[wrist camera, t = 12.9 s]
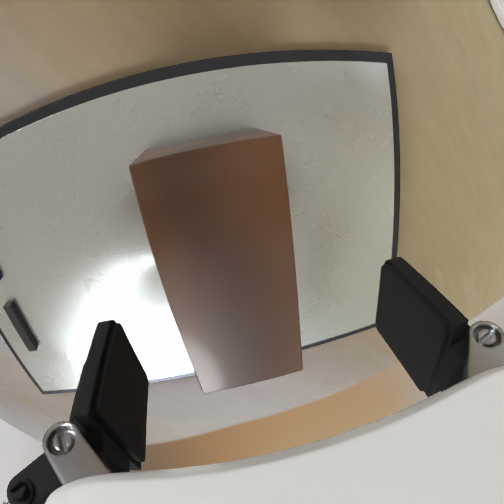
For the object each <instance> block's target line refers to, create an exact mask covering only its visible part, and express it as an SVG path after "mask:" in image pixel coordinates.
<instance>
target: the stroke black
mask: <svg viewBox="0 0 504 504" xmlns="http://www.w3.org/2000/svg"><path fill="white" fill-rule="evenodd" d="M3 308H4V310H5V312H6V314H7V316H8V317H9V319H10V321H11V323H12V324H13V326H14V328H15V329H16V331H17V333H18V334H19V336H20V338H21V339H22V341H23V343H24V344H25V346H26V347H27V349H28V350H29V351H36V350H37V349H38V345H37V343H36V342H35V340H34V338H33V337H32V335H31V333H30V332H29V330H28V328H27V327H26V325H25V323H24V321H23V320H22V318H21V316H20V314H19V312H18V310H17V309H16V307H15V305H14V303H13V302H8V303H5V304H4V306H3Z"/></svg>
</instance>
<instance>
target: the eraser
mask: <svg viewBox="0 0 504 504" xmlns="http://www.w3.org/2000/svg"><path fill="white" fill-rule="evenodd" d="M129 170H130V174H131V178H132V182H133V186H134V190H135V194H136V198H137V202H138V205H139V209H140V213H141V216H142V220H143V224H144V227H145V231H146V234H147V237H148V241H149V244H150V247H151V251H152V254H153V257H154V260H155V264H156V267H157V270H158V273H159V276H160V279H161V282H162V285H163V288H164V291H165V294H166V297H167V300H168V303H169V306H170V309H171V311H172V314H173V317H174V320H175V323H176V325H177V328H178V331H179V333H180V336H181V339H182V341H183V344H184V347H185V349H186V352H187V354H188V357H189V359H190V362H191V364H192V367H193V369H194V372H195V374H196V377H197V379H198V382H199V384H200V386H201V389H202V391H203V393H210V392H215V391H220V390H225V389H229V388H234V387H238V386H243V385H247V384H251V383H255V382H259V381H263V380H267V379H271V378H275V377H279V376H283V375H286V374H290V373H294V372H297V371H301V370H302V369H303V366H302V349H301V333H300V318H299V304H298V291H297V279H296V267H295V256H294V245H293V234H292V224H291V214H290V205H289V195H288V186H287V177H286V169H285V160H284V152H283V144H282V136H281V135H279V134H276V133H272V132H268V131H265V130H261V129H257V128H253V127H251V128H244V129H238V130H232V131H227V132H221V133H216V134H210V135H205V136H200V137H195V138H191V139H186V140H181V141H177V142H172V143H168V144H164V145H160V146H155V147H151V148H147V149H146V150H145V151H144V152H143V153H142V154H141V155H139V156H138V157H137V158H136V159H135V160H134V161H133V162H132V163H131V164H130V165H129Z"/></svg>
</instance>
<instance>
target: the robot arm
mask: <svg viewBox="0 0 504 504" xmlns="http://www.w3.org/2000/svg"><path fill="white" fill-rule="evenodd" d="M489 1H490V3H491V5H492V8H493V10H494V12H495V14H496V16H497V18H498V20H499V22H500V24H501V26H502V28H503V29H504V0H489ZM467 323H468V319H467V318H466V317H465V316H464V315H463V314H462V313H461V312H460V311H459V310H458V309H457V308H456V307H455V306H454V305H453V304H452V303H451V302H450V301H448V300H447V299H446V298H445V297H444V296H443V295H442V294H441V293H440V292H439V291H438V290H437V289H436V288H435V287H434V286H433V285H432V284H430V283H429V282H428V281H427V280H426V279H425V278H424V277H423V276H422V275H421V274H420V273H418V272H417V271H416V270H415V269H414V268H413V267H412V266H411V265H410V264H408V263H407V262H406V261H405V260H404V259H403V258H401V257H396V258H393V259H389V260H386V261H385V263H384V265H382V267H381V273H380V284H379V294H378V303H377V311H376V319H375V324H376V328H377V330H378V332H379V333H380V334H381V336H382V337H383V339H384V340H385V341H386V343H387V344H388V346H389V347H390V348H391V350H392V351H393V353H394V354H395V355H396V357H397V358H398V360H399V361H400V363H401V364H402V365H403V367H404V368H405V370H406V371H407V373H408V374H409V376H410V377H411V379H412V380H413V381H414V383H415V384H416V386H417V387H418V389H419V390H420V391H424V392H425V393H426V395H427V396H428V397H429V398H427V399H425V400H423V401H421V402H419V403H417V404H414V405H412V406H410V407H408V408H406V409H403V410H401V411H399V412H397V413H394V414H392V415H390V416H387V417H384V418H382V419H379V420H377V421H375V422H372V423H369V424H366V425H364V426H361V427H358V428H355V429H353V430H350V431H347V432H344V433H341V434H338V435H335V436H332V437H329V438H326V439H323V440H319V441H316V442H312V443H309V444H305V445H302V446H298V447H294V448H290V449H286V450H282V451H278V452H274V453H269V454H265V455H260V456H256V457H251V458H246V459H240V460H235V461H229V462H224V463H217V464H210V465H203V466H194V467H186V468H176V469H165V470H154V471H137V472H136V471H135V472H129V470H141V462H143V461H145V449H146V420H147V401H148V386H149V381H148V376H147V373H146V372H145V370H144V368H143V366H142V364H141V362H140V360H139V359H138V357H137V355H136V353H135V351H134V349H133V347H132V345H131V343H130V341H129V339H128V337H127V335H126V333H125V331H124V329H123V327H122V325H121V324H120V323H116V321H115V320H107V321H101V322H98V324H97V326H96V329H95V333H94V336H93V339H92V342H91V345H90V349H89V352H88V356H87V359H86V362H85V363H84V365H83V368H82V372H81V375H80V379H79V383H78V387H77V391H76V394H75V398H74V403H73V407H72V411H71V415H70V420H69V422H64V421H63V422H58V423H56V424H54V425H52V426H51V427H50V428H49V429H48V430H47V432H46V433H45V435H44V438H43V443H42V447H43V450H44V453H43V454H42V455H41V456H39V457H38V458H37V459H36V460H34V461H33V462H32V463H31V464H29V465H28V466H27V467H26V468H25V469H23V470H22V471H21V472H20V473H18V474H17V475H16V476H15V477H14V478H13V479H12V480H11V481H10V483H9V485H8V488H7V497H8V500H9V501H8V503H6V502H3V504H504V332H503V330H502V329H501V328H500V327H499V326H498V325H496V324H494V323H492V322H489V321H478V322H476V323H474V324H473V325H472V326H471V327H470V326H469V325H468V324H467ZM439 391H441V392H440V393H438V392H439ZM436 393H438V394H436ZM434 394H436V395H434ZM432 395H434V396H432ZM430 396H432V397H430Z"/></svg>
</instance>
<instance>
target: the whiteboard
mask: <svg viewBox="0 0 504 504" xmlns="http://www.w3.org/2000/svg"><path fill="white" fill-rule="evenodd" d="M251 127H253V128H257V129H261V130H265V131H268V132H272V133H276V134H279V135H281V136H282V144H283V152H284V160H285V169H286V177H287V186H288V195H289V205H290V214H291V224H292V234H293V245H294V256H295V267H296V279H297V291H298V304H299V318H300V333H301V349H302V350H303V349H307V348H310V347H314V346H317V345H320V344H324V343H327V342H330V341H334V340H337V339H340V338H343V337H346V336H349V335H352V334H355V333H358V332H361V331H364V330H367V329H370V328H373V327H376V324H375V319H376V311H377V303H378V294H379V284H380V273H381V267H382V265H384V263H385V261H386V260H389V259H393V258H396V257H397V245H398V230H399V209H400V143H399V122H398V107H397V95H396V85H395V76H394V67H393V60H392V54H391V53H382V52H369V51H350V50H294V51H275V52H262V53H251V54H242V55H233V56H226V57H219V58H212V59H206V60H200V61H194V62H189V63H183V64H178V65H174V66H169V67H164V68H160V69H156V70H151V71H147V72H143V73H140V74H136V75H132V76H128V77H125V78H121V79H118V80H115V81H111V82H108V83H105V84H102V85H99V86H96V87H93V88H90V89H87V90H84V91H81V92H79V93H76V94H73V95H70V96H68V97H65V98H63V99H60V100H58V101H55V102H53V103H50V104H48V105H45V106H43V107H41V108H39V109H36V110H34V111H32V112H30V113H27V114H25V115H23V116H21V117H19V118H17V119H15V120H13V121H11V122H9V123H7V124H5V125H3V126H1V127H0V277H1V280H0V334H1V336H2V337H3V339H4V340H5V342H6V344H7V345H8V347H9V348H10V350H11V351H12V353H13V354H14V356H15V357H16V359H17V360H18V362H19V363H20V364H21V366H22V367H23V369H24V370H25V371H26V373H27V374H28V376H29V377H30V378H31V380H32V381H33V382H34V384H35V385H36V386H37V387H38V389H39V390H40V391H41V393H42V394H53V393H68V392H76V391H77V387H78V383H79V379H80V375H81V372H82V368H83V365H84V363H85V362H86V359H87V356H88V352H89V349H90V345H91V342H92V339H93V336H94V333H95V329H96V326H97V324H98V322H101V321H107V320H115V321H116V323H120V324H121V325H122V327H123V329H124V331H125V333H126V335H127V337H128V339H129V341H130V343H131V345H132V347H133V349H134V351H135V353H136V355H137V357H138V359H139V360H140V362H141V364H142V366H143V368H144V370H145V372H146V373H147V376H148V381H149V383H154V382H160V381H166V380H172V379H178V378H183V377H189V376H194V375H196V374H195V372H194V369H193V367H192V364H191V362H190V359H189V357H188V354H187V352H186V349H185V347H184V344H183V341H182V339H181V336H180V333H179V331H178V328H177V325H176V323H175V320H174V317H173V314H172V311H171V309H170V306H169V303H168V300H167V297H166V294H165V291H164V288H163V285H162V282H161V279H160V276H159V273H158V270H157V267H156V264H155V260H154V257H153V254H152V251H151V247H150V244H149V241H148V237H147V234H146V231H145V227H144V224H143V220H142V216H141V213H140V209H139V205H138V202H137V198H136V194H135V190H134V186H133V182H132V178H131V174H130V170H129V165H130V164H131V163H132V162H133V161H134V160H135V159H136V158H137V157H138V156H139V155H141V154H142V153H143V152H144V151H145V150H146V149H147V148H151V147H155V146H160V145H164V144H168V143H172V142H177V141H181V140H186V139H191V138H195V137H200V136H205V135H210V134H216V133H221V132H227V131H232V130H238V129H244V128H251ZM8 302H13V303H14V305H15V307H16V309H17V310H18V312H19V314H20V316H21V318H22V320H23V321H24V323H25V325H26V327H27V328H28V330H29V332H30V333H31V335H32V337H33V338H34V340H35V342H36V343H37V345H38V349H37V350H36V351H29V350H28V349H27V347H26V346H25V344H24V343H23V341H22V339H21V338H20V336H19V334H18V333H17V331H16V329H15V328H14V326H13V324H12V323H11V321H10V319H9V317H8V316H7V314H6V312H5V310H4V308H3V306H4V304H5V303H8Z"/></svg>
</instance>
